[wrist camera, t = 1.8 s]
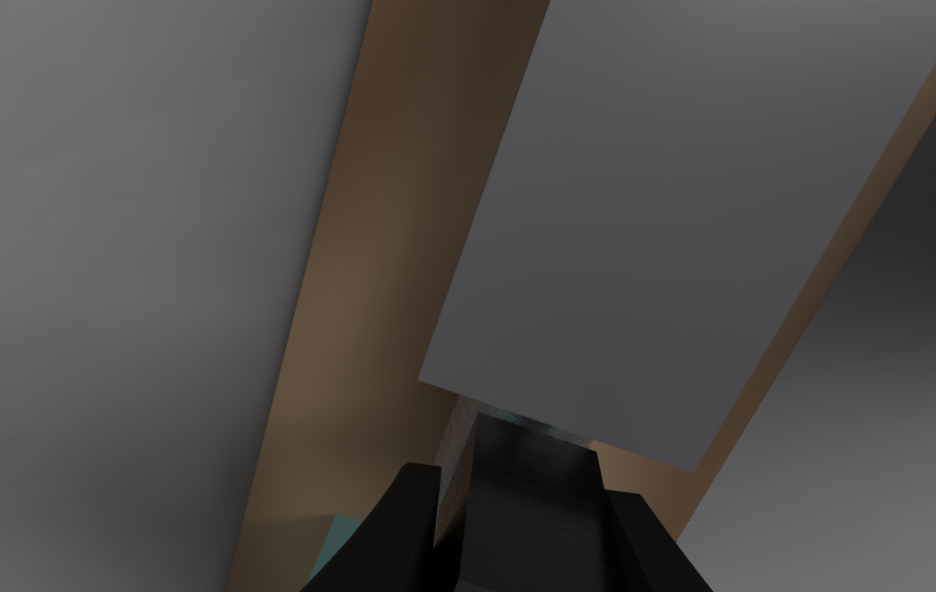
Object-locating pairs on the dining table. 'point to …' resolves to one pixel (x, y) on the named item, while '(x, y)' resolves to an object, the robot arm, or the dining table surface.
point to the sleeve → (667, 205)
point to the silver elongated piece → (519, 508)
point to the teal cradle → (335, 540)
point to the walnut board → (440, 285)
